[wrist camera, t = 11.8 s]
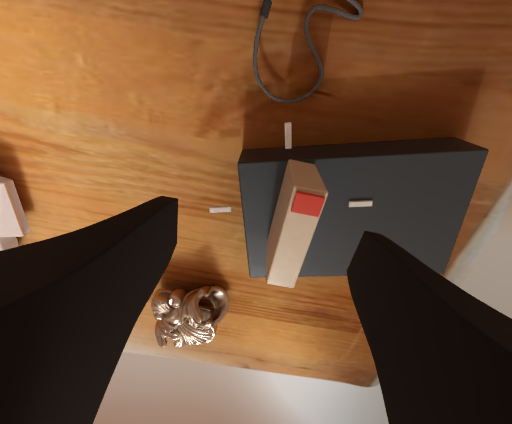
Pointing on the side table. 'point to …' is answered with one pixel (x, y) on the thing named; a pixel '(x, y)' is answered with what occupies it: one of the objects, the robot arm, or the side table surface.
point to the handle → (294, 222)
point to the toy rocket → (11, 215)
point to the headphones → (265, 13)
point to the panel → (365, 198)
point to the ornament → (188, 315)
